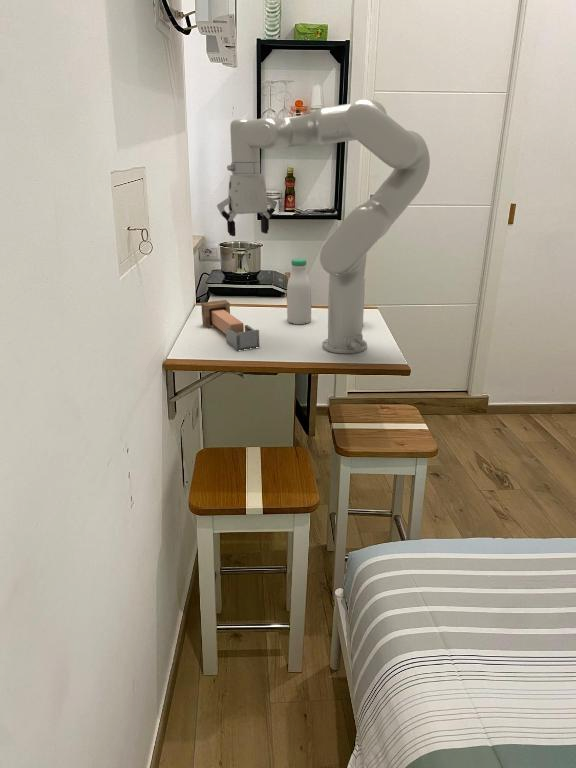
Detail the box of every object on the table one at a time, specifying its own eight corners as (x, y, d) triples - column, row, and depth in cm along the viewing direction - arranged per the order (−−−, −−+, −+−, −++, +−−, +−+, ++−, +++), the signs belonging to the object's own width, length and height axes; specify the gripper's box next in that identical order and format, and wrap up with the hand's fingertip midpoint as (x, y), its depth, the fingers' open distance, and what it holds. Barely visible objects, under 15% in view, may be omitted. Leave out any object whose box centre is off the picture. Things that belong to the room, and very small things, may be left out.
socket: (230, 324, 194) (229, 302, 191) (206, 328, 191) (205, 305, 188) (226, 321, 197) (225, 299, 195) (202, 324, 194) (201, 302, 191)
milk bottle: (311, 324, 193) (311, 261, 185) (287, 325, 193) (286, 262, 185) (311, 318, 200) (311, 257, 192) (287, 318, 200) (286, 257, 192)
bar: (244, 336, 179) (243, 322, 177) (230, 338, 177) (230, 324, 176) (221, 319, 195) (220, 307, 194) (209, 321, 194) (208, 308, 192)
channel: (259, 347, 172) (259, 330, 170) (237, 351, 170) (236, 333, 168) (247, 339, 180) (247, 322, 178) (226, 342, 177) (225, 325, 175)
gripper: (220, 171, 157) (223, 238, 163) (281, 168, 163) (282, 233, 170) (211, 169, 163) (214, 234, 169) (270, 167, 170) (271, 230, 176)
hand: (248, 234), depth 170 cm, fingers open, 9 cm apart
